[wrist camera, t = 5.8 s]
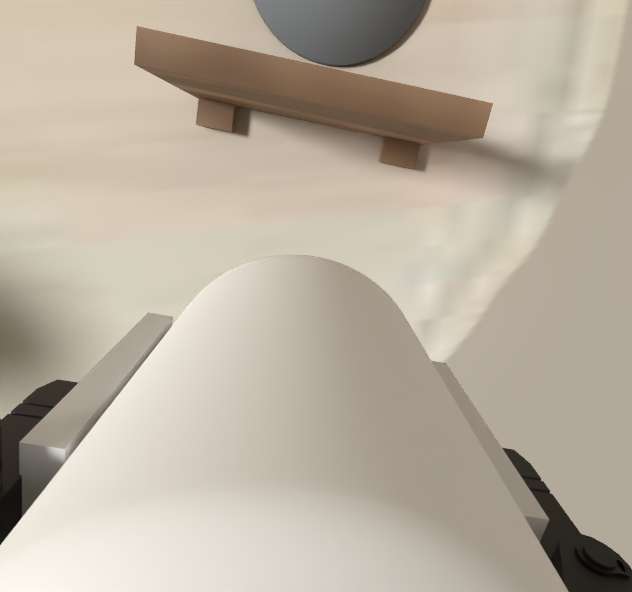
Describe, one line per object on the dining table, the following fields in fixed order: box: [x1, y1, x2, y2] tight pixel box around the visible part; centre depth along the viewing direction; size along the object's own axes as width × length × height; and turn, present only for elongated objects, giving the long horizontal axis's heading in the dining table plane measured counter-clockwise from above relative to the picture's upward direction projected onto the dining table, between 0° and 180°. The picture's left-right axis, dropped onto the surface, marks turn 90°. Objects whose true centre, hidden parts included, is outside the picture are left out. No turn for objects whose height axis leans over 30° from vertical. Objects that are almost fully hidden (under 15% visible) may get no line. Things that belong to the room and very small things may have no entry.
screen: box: [134, 26, 493, 169], centre depth 26 cm, size 5×16×12 cm, turn 79°
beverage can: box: [0, 255, 569, 592], centre depth 10 cm, size 8×8×12 cm
